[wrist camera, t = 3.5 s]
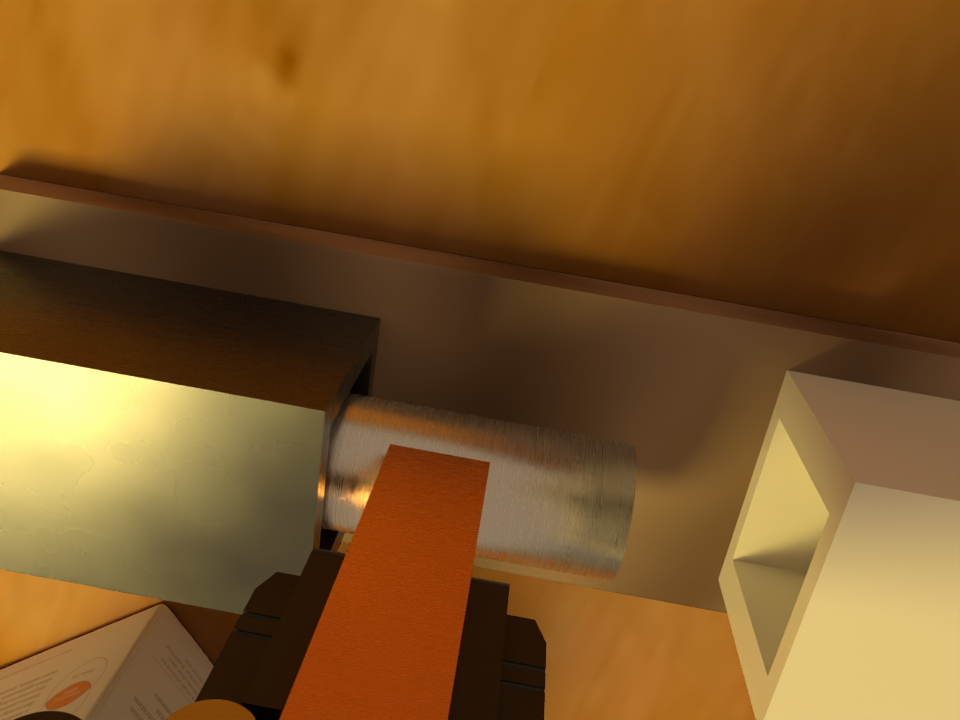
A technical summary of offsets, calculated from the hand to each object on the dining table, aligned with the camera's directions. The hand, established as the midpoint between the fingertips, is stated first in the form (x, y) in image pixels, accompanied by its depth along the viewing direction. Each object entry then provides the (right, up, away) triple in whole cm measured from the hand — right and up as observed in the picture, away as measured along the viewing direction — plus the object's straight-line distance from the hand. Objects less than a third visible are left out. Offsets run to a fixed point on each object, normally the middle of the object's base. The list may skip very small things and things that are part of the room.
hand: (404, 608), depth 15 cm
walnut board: (+1, +3, +7) cm, 8 cm away
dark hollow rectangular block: (-6, +4, +6) cm, 10 cm away
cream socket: (+10, +1, +6) cm, 12 cm away
